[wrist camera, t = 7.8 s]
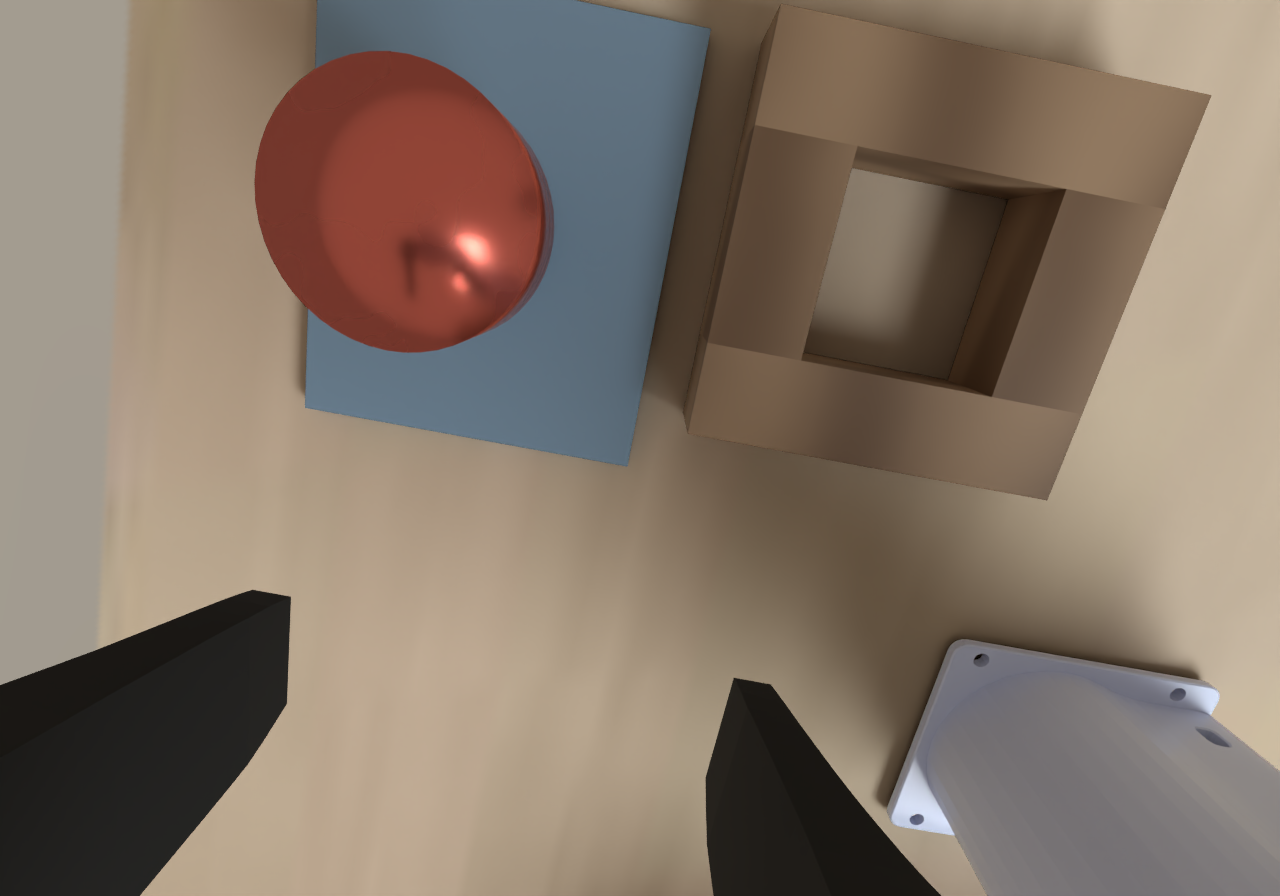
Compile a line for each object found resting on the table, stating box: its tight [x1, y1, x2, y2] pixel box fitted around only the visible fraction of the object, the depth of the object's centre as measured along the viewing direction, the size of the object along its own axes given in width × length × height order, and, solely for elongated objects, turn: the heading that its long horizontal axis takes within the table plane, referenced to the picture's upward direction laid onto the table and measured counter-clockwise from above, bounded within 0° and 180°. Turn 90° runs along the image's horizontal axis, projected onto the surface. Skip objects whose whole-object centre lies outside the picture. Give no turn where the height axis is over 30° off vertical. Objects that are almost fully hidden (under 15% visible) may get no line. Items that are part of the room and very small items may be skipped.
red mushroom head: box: [255, 51, 554, 353], centre depth 14 cm, size 5×5×7 cm
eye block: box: [683, 4, 1211, 500], centre depth 17 cm, size 10×10×2 cm
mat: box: [305, 0, 711, 466], centre depth 17 cm, size 10×12×1 cm
